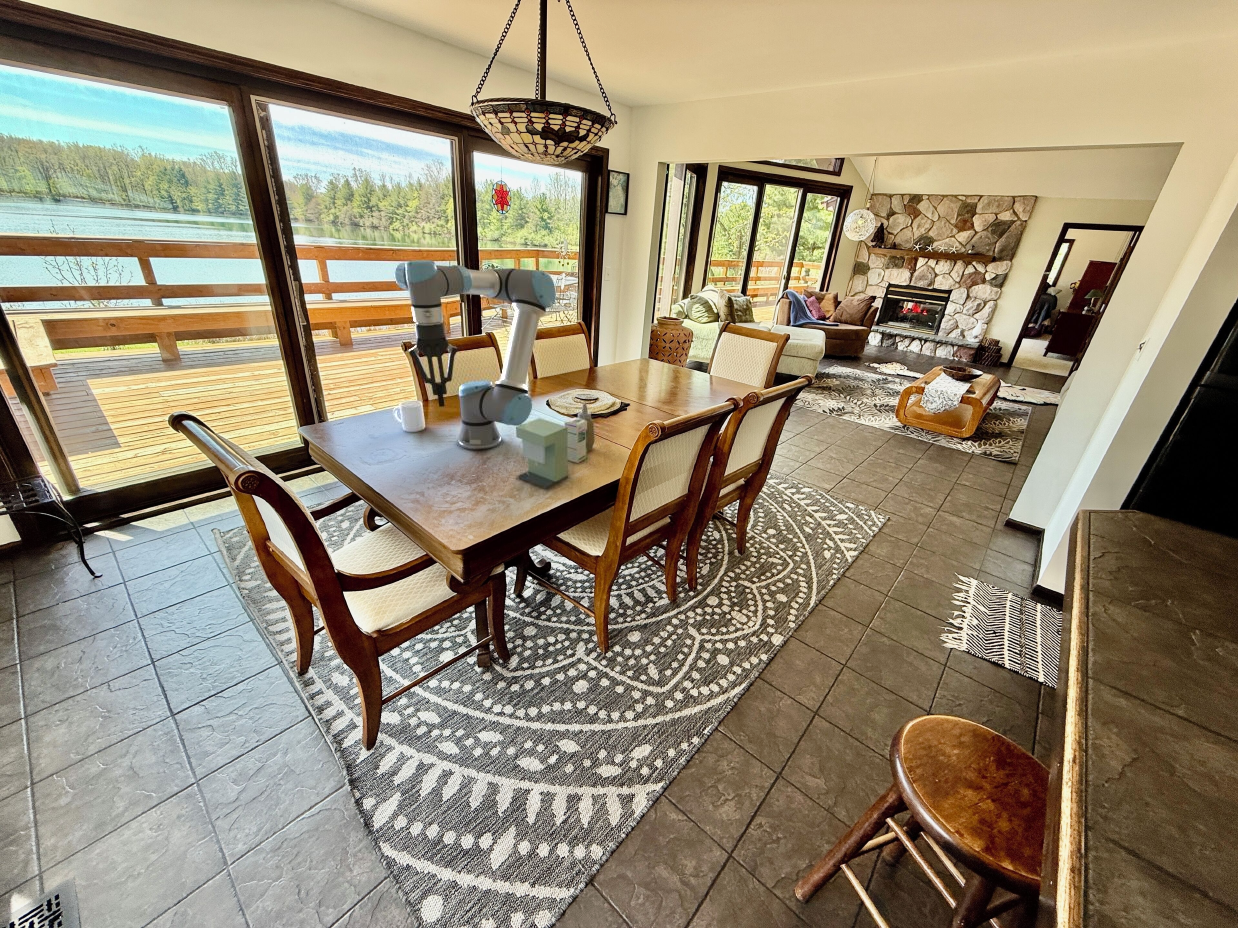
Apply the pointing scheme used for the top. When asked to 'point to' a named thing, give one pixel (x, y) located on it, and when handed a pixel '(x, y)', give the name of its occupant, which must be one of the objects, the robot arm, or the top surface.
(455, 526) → the top surface
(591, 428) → the squeeze bottle
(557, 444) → the dispenser
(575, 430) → the syrup box
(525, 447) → the push plate
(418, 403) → the mug
